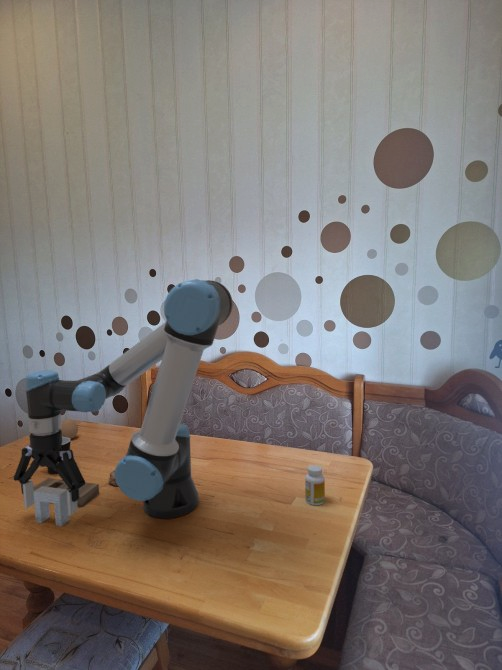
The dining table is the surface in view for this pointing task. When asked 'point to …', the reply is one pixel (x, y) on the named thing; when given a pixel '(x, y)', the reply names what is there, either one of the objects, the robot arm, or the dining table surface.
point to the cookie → (112, 479)
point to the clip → (51, 496)
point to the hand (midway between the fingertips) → (50, 509)
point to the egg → (69, 429)
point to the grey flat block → (85, 491)
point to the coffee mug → (64, 447)
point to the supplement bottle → (315, 486)
